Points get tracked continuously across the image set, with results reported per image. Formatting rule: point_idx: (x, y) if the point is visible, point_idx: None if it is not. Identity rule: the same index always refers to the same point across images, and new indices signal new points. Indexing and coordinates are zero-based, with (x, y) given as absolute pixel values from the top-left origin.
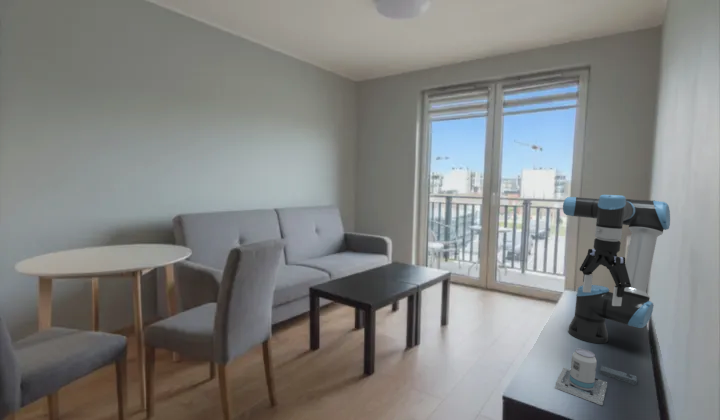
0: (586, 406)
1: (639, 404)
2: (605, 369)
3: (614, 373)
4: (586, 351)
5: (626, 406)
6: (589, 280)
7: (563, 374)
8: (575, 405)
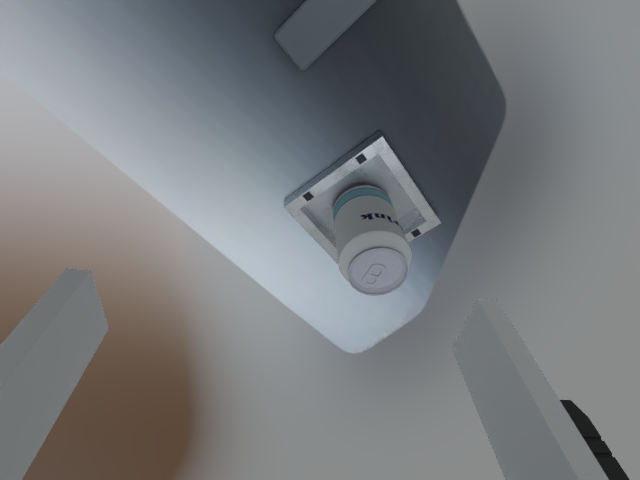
0: (424, 250)
1: (471, 103)
2: (302, 47)
3: (333, 35)
4: (364, 252)
5: (461, 153)
6: (4, 434)
7: (319, 234)
8: (413, 268)
